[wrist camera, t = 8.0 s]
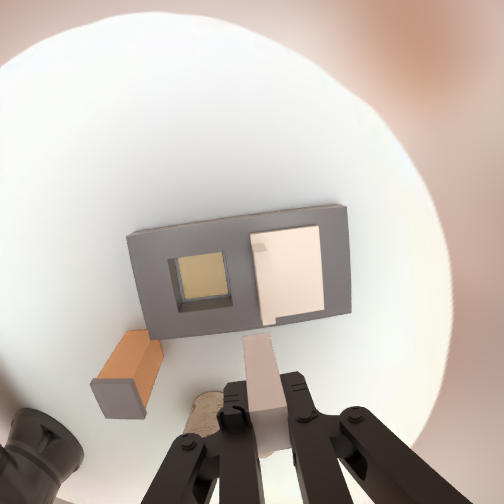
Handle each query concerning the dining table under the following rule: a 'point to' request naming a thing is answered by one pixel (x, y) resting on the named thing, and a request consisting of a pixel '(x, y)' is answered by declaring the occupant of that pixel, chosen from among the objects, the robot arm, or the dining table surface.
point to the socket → (229, 271)
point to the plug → (128, 376)
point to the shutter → (288, 272)
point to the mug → (208, 416)
